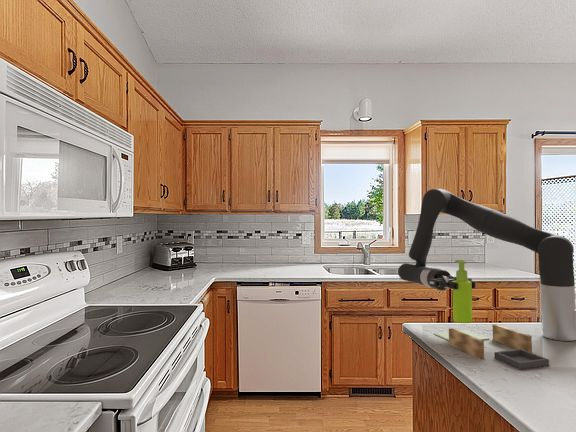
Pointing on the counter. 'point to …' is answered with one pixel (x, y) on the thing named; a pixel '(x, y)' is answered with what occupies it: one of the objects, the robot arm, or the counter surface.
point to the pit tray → (521, 359)
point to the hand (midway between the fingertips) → (465, 285)
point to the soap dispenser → (462, 296)
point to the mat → (446, 334)
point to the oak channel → (499, 335)
